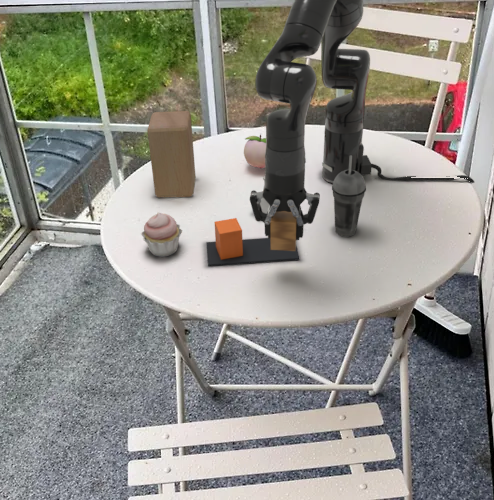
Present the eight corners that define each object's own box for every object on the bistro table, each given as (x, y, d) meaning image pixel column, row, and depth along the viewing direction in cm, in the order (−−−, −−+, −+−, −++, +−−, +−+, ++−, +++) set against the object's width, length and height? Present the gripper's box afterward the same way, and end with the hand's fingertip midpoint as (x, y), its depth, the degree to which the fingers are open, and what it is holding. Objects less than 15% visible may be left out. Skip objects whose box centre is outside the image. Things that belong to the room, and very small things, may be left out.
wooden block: (196, 178, 176) (190, 109, 164) (193, 198, 168) (187, 126, 156) (159, 179, 177) (151, 110, 166) (154, 199, 169) (146, 128, 158)
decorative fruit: (239, 174, 176) (238, 140, 170) (248, 160, 182) (247, 127, 176) (273, 178, 172) (273, 144, 167) (281, 163, 178) (281, 130, 173)
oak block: (296, 236, 137) (297, 208, 133) (295, 251, 133) (296, 222, 129) (272, 235, 138) (272, 207, 134) (270, 249, 134) (270, 221, 130)
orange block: (237, 243, 149) (236, 217, 145) (242, 256, 145) (242, 229, 141) (215, 247, 149) (214, 221, 145) (221, 259, 145) (219, 233, 140)
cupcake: (156, 234, 156) (152, 198, 150) (190, 242, 152) (187, 206, 146) (135, 255, 150) (129, 218, 144) (170, 265, 146) (166, 228, 140)
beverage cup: (363, 224, 152) (370, 146, 140) (360, 242, 146) (367, 162, 135) (331, 220, 154) (336, 144, 143) (327, 238, 149) (331, 160, 137)
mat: (293, 238, 150) (293, 235, 150) (299, 260, 143) (299, 257, 143) (206, 244, 151) (206, 242, 151) (208, 266, 144) (207, 264, 144)
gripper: (244, 173, 123) (247, 246, 133) (322, 175, 120) (319, 249, 130) (249, 154, 129) (251, 225, 139) (324, 155, 126) (320, 228, 136)
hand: (284, 236), depth 135 cm, fingers closed on oak block, 5 cm apart
